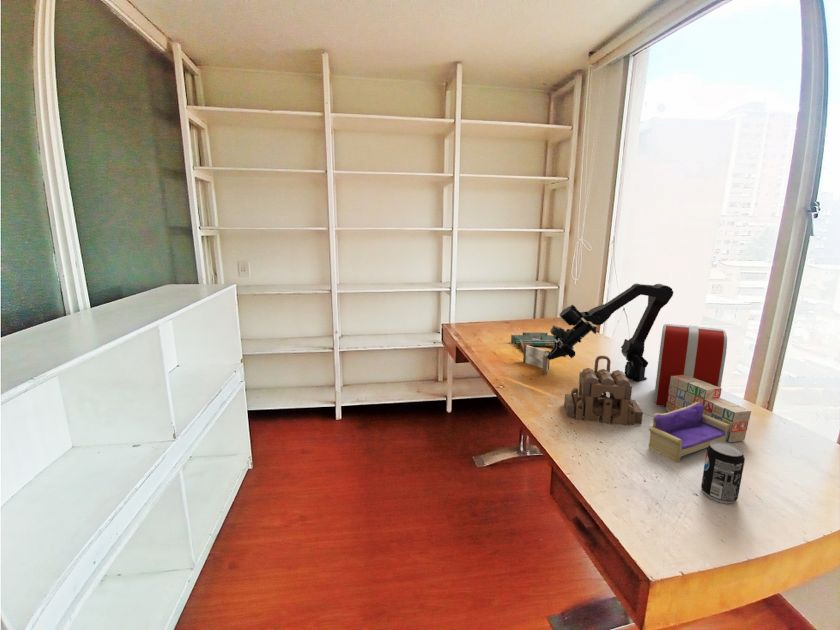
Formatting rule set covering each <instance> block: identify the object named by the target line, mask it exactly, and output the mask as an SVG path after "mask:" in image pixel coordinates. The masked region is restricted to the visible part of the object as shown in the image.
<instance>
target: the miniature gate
mask: <svg viewBox="0 0 840 630" xmlns="http://www.w3.org/2000/svg"><path fill="white" fill-rule="evenodd" d="M548 333H549V332H548V331H547V332H528V331H527V332H523V331H522V334H510V336H511V337H510V344H511V343H515V344H516V346H520V349H521V351H522V352H523V353H524V345H528V346H532V347H535V346H542V347H543V346H544V347H548V346H549V347H552V348H553V347H554V340H555V341H557V340H556V339H554V338H553V336H554V335H552V334H548ZM515 344H514V345H515ZM562 357H563V358H566V357H567V355H566V356H562Z"/></svg>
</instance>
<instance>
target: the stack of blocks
mask: <svg viewBox="0 0 840 630" xmlns="http://www.w3.org/2000/svg"><path fill="white" fill-rule="evenodd" d="M721 395H722V387H721V388H719V387H717V386H714V385H711V384H709V383H706V382H704V381H701V380H698V379H696V378H693V377H689V376H684V375H676V376H671V380H670V385H669V392H668V400H667V405H666V407H665V411H666V412H671V411H674V410H678V409H681V408H684V407H687V406H690V405H692V404H693V403H695V402H699V403H701V404H702V405H703V406H704V411H703V414H704V415H707V416H709V417H712V418H714V419H717V420H719V421H722V422H724V423H727V424H729V425H730V427H729V429H728V432H727V437H726V443H733V442H742V441H745V439H746V436H747V430H748V428H749V427H748V426H749V421H750V418H751V414H752V410H750V409H748V408H746V407H743V406H740V405H739V404H736V403H734V402H731V401H729V400H726V399H724V398H723V397H721Z"/></svg>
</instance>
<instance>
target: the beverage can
mask: <svg viewBox="0 0 840 630" xmlns="http://www.w3.org/2000/svg"><path fill="white" fill-rule="evenodd" d="M745 459H746V458H745V456H744V451H743V449H741V448H740V447H738V445H737V446H736V445H735V444H733V443H731V442H727V441H726V442H721V441H714V442H711V443H710V446H709V447H706V453H705V460H704V466H703V471H702V472H703V473H702V479H701V485H700V487H701V491H702V492H703V493H704V495H706V497H708V499H709V498H710V499H711V500H712V501H714V502H717V503H721V504H727V505H729V504H732V503H735V502H737V501H738V499H739V494H740V489H741V483H742V478H743V473H744V472H743V471H744V466H745V461H746V460H745Z"/></svg>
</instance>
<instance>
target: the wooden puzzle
mask: <svg viewBox="0 0 840 630" xmlns="http://www.w3.org/2000/svg"><path fill="white" fill-rule="evenodd" d="M600 360H606V369H604V368H602V369H598V368H599V362H600ZM610 371H611V359H610V357H608V356H606V355H598V356H597V357H596V358H595V360H594V368H593V369H592V368H589V367H587V368H584V369H583V370H582V372H579V374H578V375H579V379H578V387H577V386H576V387H574V388H572V390H571V391H570V393H565V394H564V408H565V410H566V412H565V414H566V418H573V419H574V418H575V420H582V421H583V420H584V422H593V423H599V422H600V416H601V423H602V424H603V425H610V424H611V425H620V426H633V427H634V426H635V424H636V425H642V423H643V414H644V412H643V411H642V408H641V407H640V405H639V404H638V403H637V401H636V399H632V393H633V392H632V391H633V385H632V384H631V382H630V379H628V378H627V377H626V376H625V374H624V373H625V372H623V371H622V370H620V369H615V370H613V371H612V372H610ZM607 393H609V397H608V395H607Z"/></svg>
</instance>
